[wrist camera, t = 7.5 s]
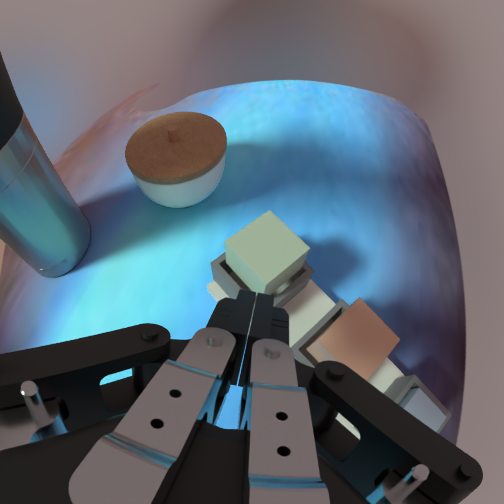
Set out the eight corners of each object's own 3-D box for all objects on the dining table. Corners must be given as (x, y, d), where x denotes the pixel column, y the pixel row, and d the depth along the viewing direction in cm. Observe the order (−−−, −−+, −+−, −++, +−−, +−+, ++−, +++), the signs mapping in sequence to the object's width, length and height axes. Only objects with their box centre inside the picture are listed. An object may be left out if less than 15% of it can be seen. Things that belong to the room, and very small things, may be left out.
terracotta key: (306, 349, 21) (317, 339, 18) (343, 312, 23) (359, 297, 20) (344, 388, 20) (362, 385, 17) (379, 348, 21) (400, 339, 18)
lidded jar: (204, 147, 38) (199, 90, 30) (244, 200, 34) (246, 138, 26) (131, 178, 35) (111, 123, 27) (159, 240, 31) (136, 183, 23)
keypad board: (207, 290, 29) (201, 269, 24) (267, 244, 32) (272, 218, 27) (378, 468, 20) (403, 477, 16) (427, 409, 23) (456, 406, 19)
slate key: (368, 426, 21) (386, 428, 18) (399, 390, 22) (419, 387, 19) (396, 453, 19) (416, 457, 16) (425, 417, 21) (446, 417, 18)
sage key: (226, 262, 24) (224, 241, 21) (265, 233, 26) (269, 209, 23) (261, 301, 23) (265, 284, 20) (301, 268, 24) (310, 248, 21)
